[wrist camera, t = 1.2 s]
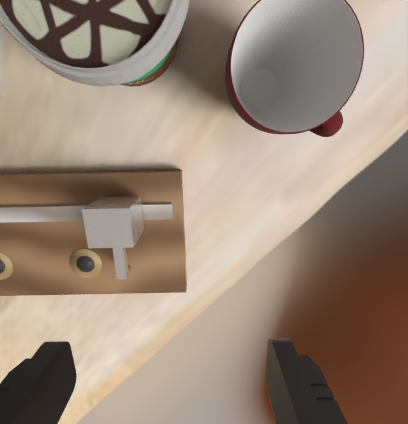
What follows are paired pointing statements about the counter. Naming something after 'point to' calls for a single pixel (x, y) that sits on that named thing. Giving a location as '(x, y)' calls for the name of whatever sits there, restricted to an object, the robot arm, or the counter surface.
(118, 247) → the leg
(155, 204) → the hole board
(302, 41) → the mug
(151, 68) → the food container
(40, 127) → the counter surface
